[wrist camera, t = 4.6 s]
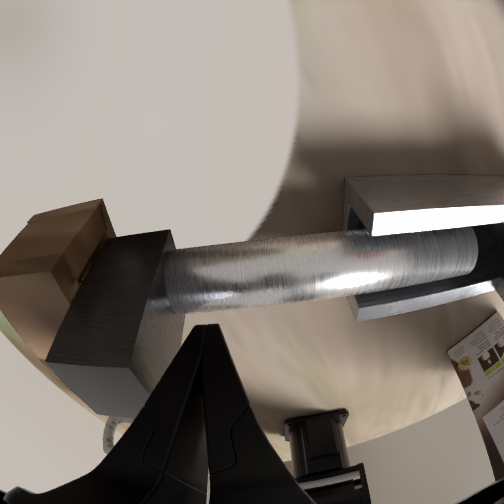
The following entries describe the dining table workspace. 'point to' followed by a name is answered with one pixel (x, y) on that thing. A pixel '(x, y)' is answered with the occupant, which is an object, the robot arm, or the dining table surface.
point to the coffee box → (485, 383)
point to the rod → (220, 295)
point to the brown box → (49, 269)
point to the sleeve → (429, 218)
